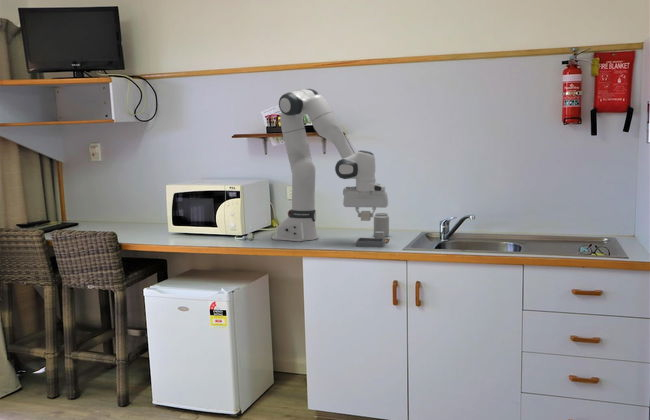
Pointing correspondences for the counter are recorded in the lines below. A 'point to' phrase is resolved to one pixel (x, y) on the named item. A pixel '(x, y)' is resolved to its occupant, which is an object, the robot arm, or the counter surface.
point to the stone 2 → (379, 234)
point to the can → (381, 223)
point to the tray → (386, 240)
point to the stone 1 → (365, 215)
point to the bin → (370, 242)
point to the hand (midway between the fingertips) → (365, 217)
